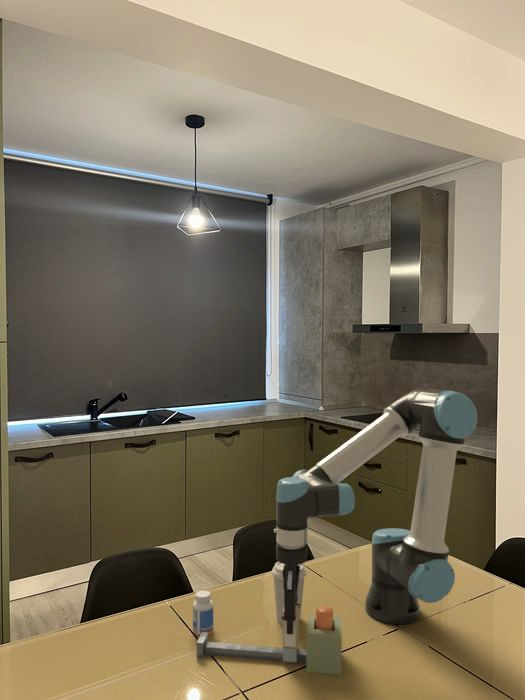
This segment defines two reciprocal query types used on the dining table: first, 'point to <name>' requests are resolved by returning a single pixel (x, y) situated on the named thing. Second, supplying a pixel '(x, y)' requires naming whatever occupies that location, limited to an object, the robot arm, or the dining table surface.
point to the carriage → (291, 652)
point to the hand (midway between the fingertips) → (290, 640)
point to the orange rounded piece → (324, 618)
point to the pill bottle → (202, 613)
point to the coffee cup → (279, 589)
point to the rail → (243, 650)
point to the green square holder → (324, 647)
